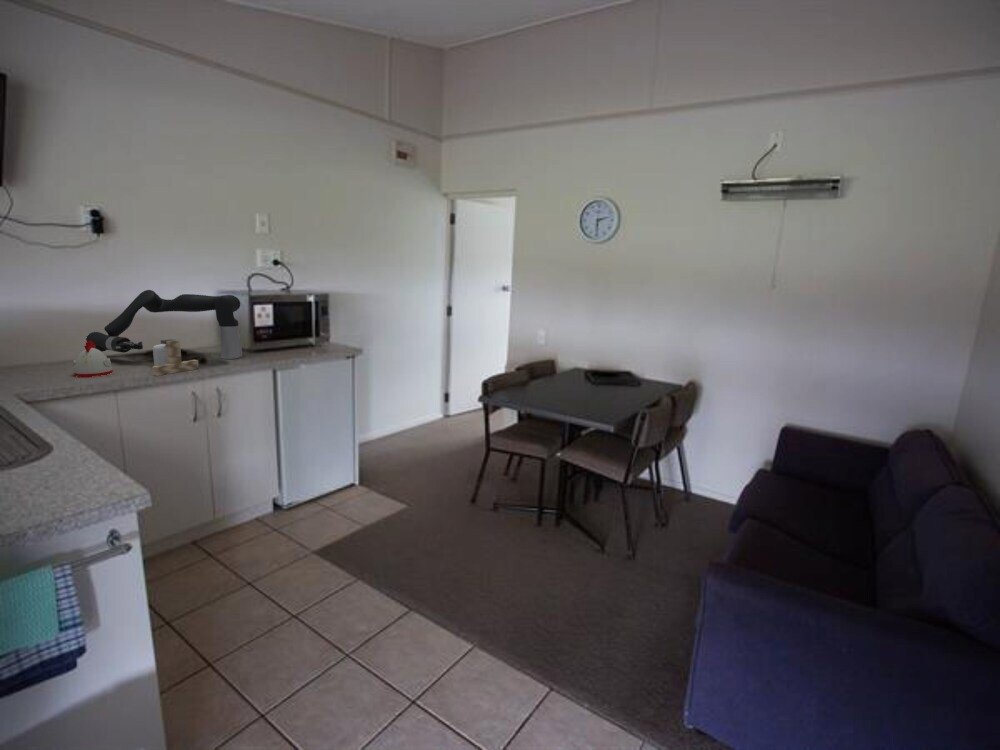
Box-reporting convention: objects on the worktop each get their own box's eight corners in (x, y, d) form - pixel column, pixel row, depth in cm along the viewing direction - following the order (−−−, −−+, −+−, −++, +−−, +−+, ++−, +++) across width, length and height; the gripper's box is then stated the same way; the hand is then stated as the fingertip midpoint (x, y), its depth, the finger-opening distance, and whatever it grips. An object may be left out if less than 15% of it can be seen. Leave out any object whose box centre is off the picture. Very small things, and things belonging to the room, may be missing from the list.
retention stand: (189, 366, 256) (186, 337, 253) (198, 368, 253) (196, 338, 250) (147, 374, 238) (143, 342, 235) (157, 375, 235) (153, 343, 232)
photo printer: (180, 369, 249) (177, 343, 247) (174, 371, 245) (171, 345, 243) (159, 368, 250) (156, 343, 247) (153, 370, 246) (150, 344, 243)
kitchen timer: (67, 377, 226) (62, 343, 223) (83, 371, 239) (78, 338, 236) (105, 377, 230) (101, 343, 227) (118, 370, 243) (114, 338, 240)
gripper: (103, 338, 254) (125, 341, 247) (131, 335, 266) (153, 337, 259) (105, 353, 255) (127, 356, 249) (133, 349, 267) (155, 352, 260)
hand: (140, 347), depth 254 cm, fingers closed
